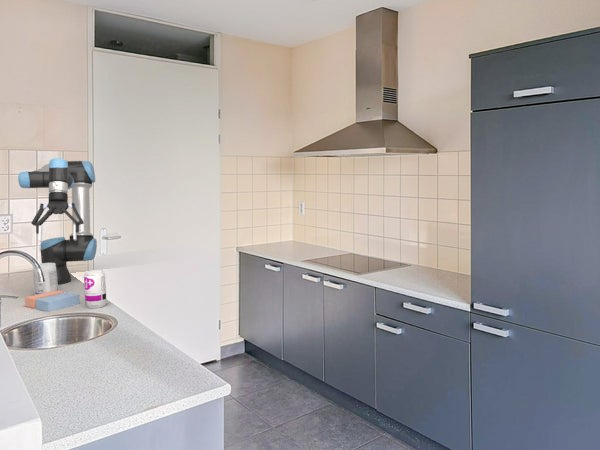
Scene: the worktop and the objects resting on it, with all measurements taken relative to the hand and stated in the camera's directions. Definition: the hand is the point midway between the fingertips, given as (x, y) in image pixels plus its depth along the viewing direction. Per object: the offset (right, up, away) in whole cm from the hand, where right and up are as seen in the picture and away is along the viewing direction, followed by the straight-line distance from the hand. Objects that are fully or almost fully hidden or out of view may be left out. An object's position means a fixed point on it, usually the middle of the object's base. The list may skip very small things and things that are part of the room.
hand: (57, 240), depth 208 cm
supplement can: (+18, -28, -3) cm, 33 cm away
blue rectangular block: (+1, -28, -2) cm, 28 cm away
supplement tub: (-14, -26, +18) cm, 35 cm away
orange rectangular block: (-7, -28, +3) cm, 29 cm away
